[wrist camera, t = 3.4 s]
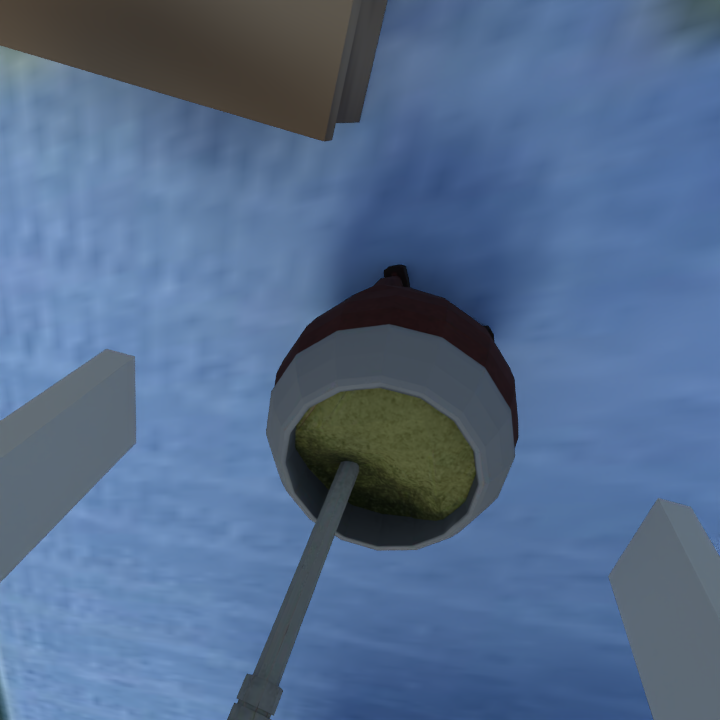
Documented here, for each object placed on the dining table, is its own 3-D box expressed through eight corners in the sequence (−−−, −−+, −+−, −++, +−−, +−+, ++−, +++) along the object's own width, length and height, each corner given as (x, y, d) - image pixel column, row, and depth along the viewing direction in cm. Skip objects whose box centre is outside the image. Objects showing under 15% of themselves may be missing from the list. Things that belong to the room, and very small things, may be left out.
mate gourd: (494, 238, 17) (609, 645, 4) (512, 434, 20) (610, 1034, 7) (289, 270, 19) (-108, 624, 6) (334, 445, 22) (143, 942, 9)
